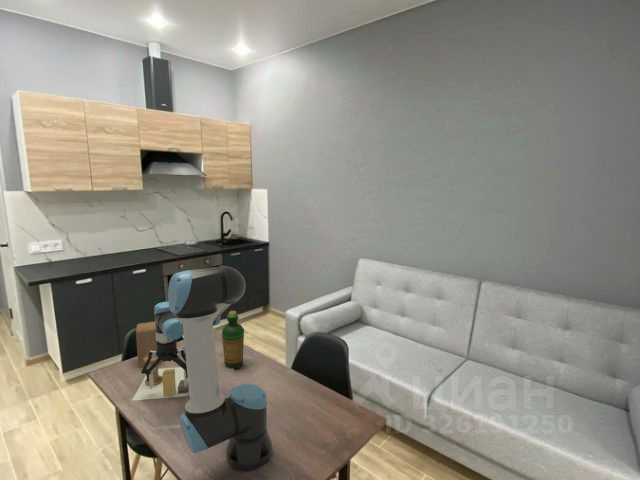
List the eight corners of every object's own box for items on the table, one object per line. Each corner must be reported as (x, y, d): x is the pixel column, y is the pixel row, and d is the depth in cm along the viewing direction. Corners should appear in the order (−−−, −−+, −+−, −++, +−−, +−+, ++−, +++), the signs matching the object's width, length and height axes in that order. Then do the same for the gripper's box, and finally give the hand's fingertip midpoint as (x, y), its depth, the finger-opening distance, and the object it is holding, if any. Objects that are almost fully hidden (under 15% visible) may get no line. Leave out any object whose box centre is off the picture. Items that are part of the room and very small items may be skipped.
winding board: (188, 398, 146) (188, 395, 146) (131, 403, 142) (131, 400, 142) (197, 368, 169) (197, 366, 169) (149, 371, 166) (149, 369, 165)
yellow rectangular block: (173, 395, 146) (172, 373, 144) (163, 396, 145) (162, 374, 144) (175, 390, 150) (174, 368, 148) (166, 390, 149) (164, 369, 147)
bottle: (218, 369, 169) (216, 314, 164) (230, 358, 179) (228, 307, 174) (237, 373, 166) (236, 317, 161) (248, 362, 176) (247, 309, 171)
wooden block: (139, 360, 175) (136, 323, 172) (161, 356, 180) (158, 320, 176) (138, 370, 167) (135, 331, 163) (161, 366, 171) (159, 327, 167)
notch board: (188, 392, 148) (187, 385, 148) (178, 393, 148) (177, 386, 147) (195, 368, 167) (195, 363, 166) (187, 369, 166) (186, 363, 166)
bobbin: (160, 385, 153) (158, 360, 151) (143, 386, 152) (141, 361, 150) (164, 376, 160) (162, 352, 158) (148, 377, 158) (146, 353, 156)
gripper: (199, 333, 149) (201, 378, 153) (136, 336, 145) (140, 383, 149) (196, 341, 142) (198, 388, 146) (130, 345, 137) (134, 393, 141)
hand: (169, 386), depth 147 cm, fingers open, 13 cm apart
